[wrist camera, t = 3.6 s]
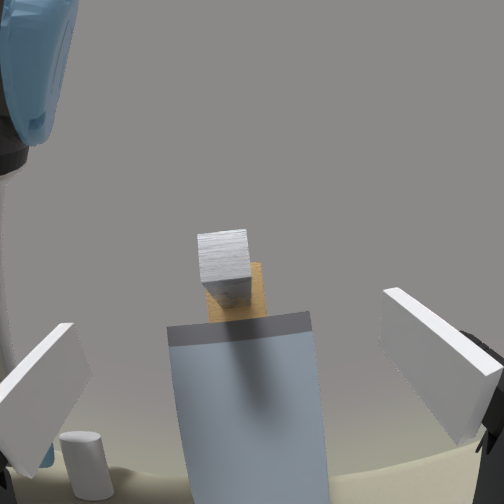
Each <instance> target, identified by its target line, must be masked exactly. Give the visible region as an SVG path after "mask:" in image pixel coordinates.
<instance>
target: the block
mask: <svg viewBox="0 0 504 504" xmlns="http://www.w3.org/2000/svg"><path fill="white" fill-rule="evenodd" d="M198 251H199V264H200V277H201V283H202V284H203V285H204V287H205V288H206V296H207V306H208V316H209V323H216V322H226V321H235V320H244V319H253V318H261V317H267V310H266V303H265V295H264V288H263V279H262V271H261V264H260V262H256V263H250V259H249V251H248V242H247V234H246V229H241V230H232V231H223V232H215V233H206V234H198Z"/></svg>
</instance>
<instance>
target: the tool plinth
mask: <svg viewBox="0 0 504 504" xmlns="http://www.w3.org/2000/svg"><path fill="white" fill-rule="evenodd" d="M167 334H168V345H169V354H170V363H171V371H172V380H173V388H174V396H175V403H176V410H177V416H178V422H179V428H180V434H181V440H182V445H183V451H184V456H185V462H186V467H187V472H188V477H189V482H190V486H191V491H192V495H193V499H194V504H330V499H329V484H328V471H327V458H326V447H325V435H324V425H323V415H322V406H321V397H320V388H319V380H318V372H317V363H316V355H315V348H314V340H313V334H312V326H311V319H310V312H309V311H305V312H299V313H291V314H284V315H277V316H269V317H261V318H253V319H244V320H235V321H226V322H216V323H205V324H196V325H195V324H194V325H183V326H171V327H167Z"/></svg>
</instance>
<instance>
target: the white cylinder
mask: <svg viewBox="0 0 504 504" xmlns="http://www.w3.org/2000/svg"><path fill="white" fill-rule="evenodd" d="M59 440H60V444H61V449H62V453H63V457H64V461H65V465H66V469H67V472H68V476H69V479H70V482H71V486H72V489H73V492H74V494H75V496H76V497H78V498H80V499H83V500H88V501H99V500H104V499H107V498H110V497H111V496H112V495H113V494H114V489H113V485H112V482H111V478H110V474H109V470H108V466H107V462H106V458H105V454H104V449H103V445H102V440H101V435H100V434H98V433H95V432H88V431H72V432H66V433H62V434H60V435H59Z"/></svg>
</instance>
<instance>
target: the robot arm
mask: <svg viewBox="0 0 504 504" xmlns="http://www.w3.org/2000/svg"><path fill="white" fill-rule="evenodd" d="M78 2H79V0H0V504H17V501H16V497H15V493H14V489H13V485H12V480H11V476H10V473H9V471H8V470H7V469H6V467H13V468H14V470H15V471H16V472H17V473H18V474H21V475H24V476H26V477H29V478H32V479H33V478H34V476H35V474H36V472H37V470H38V468H48V467H51V466H52V465H53V463H54V448H53V440H54V439H55V437H56V435H57V434H58V432H59V430H60V428H61V427H62V425H63V423H64V422H65V420H66V418H67V416H68V415H69V413H70V411H71V410H72V408H73V406H74V405H75V403H76V401H77V400H78V398H79V397H80V395H81V393H82V392H83V390H84V388H85V387H86V385H87V384H88V382H89V380H90V379H91V377H92V373H91V370H90V367H89V365H88V362H87V360H86V357H85V354H84V351H83V349H82V346H81V343H80V340H79V337H78V334H77V331H76V328H75V325H74V323H61V324H59V325H58V326H57V327H56V328H55V329H54V330H53V331H52V332H51V333H50V334H49V335H48V336H47V337H46V338H45V339H44V340H43V341H42V342H41V343H40V344H39V345H38V346H37V347H36V348H35V349H34V350H33V351H31V353H30V354H28V356H27V357H26V358H25V359H24V360H23V361H22V362H21V363H20V364H19V365H18V366H17V365H16V360H15V355H14V350H13V345H12V339H11V334H10V327H9V321H8V313H7V305H6V295H5V283H4V267H3V213H4V198H5V187H6V185H7V184H8V183H9V182H10V181H11V180H12V179H13V178H14V177H15V176H16V175H17V174H18V173H20V172H21V171H22V170H23V168H24V167H25V165H26V161H27V155H28V150H29V146H36V145H38V144H42V143H44V142H45V141H46V140H47V139H48V137H49V135H50V133H51V130H52V126H53V122H54V117H55V112H56V106H57V102H58V99H59V95H60V90H61V86H62V81H63V77H64V72H65V67H66V63H67V58H68V53H69V49H70V44H71V40H72V34H73V30H74V26H75V21H76V16H77V10H78ZM378 347H379V348H380V349H381V351H382V352H383V353H384V354H385V356H386V357H387V358H388V359H389V360H390V362H391V363H392V364H393V365H394V366H395V368H396V369H397V370H398V371H399V373H400V374H401V375H402V376H403V378H404V379H405V380H406V381H407V382H408V384H409V385H410V386H411V387H412V389H413V390H414V391H415V392H416V394H417V395H418V396H419V397H420V399H421V400H422V401H423V403H424V404H425V405H426V406H427V408H428V409H429V410H430V411H431V413H432V414H433V415H434V416H435V418H436V419H437V420H438V422H439V423H440V424H441V425H442V427H443V428H444V429H445V431H446V432H447V433H448V435H449V436H450V437H451V438H452V440H453V441H454V443H455V444H456V445H457V446H458V445H460V444H462V443H464V442H466V441H468V440H469V439H471V438H473V437H475V436H476V433H477V432H478V429H479V427H480V425H481V423H482V424H483V425H484V426H485V427H486V428H487V430H486V432H485V433H484V435H483V437H482V439H481V441H480V443H479V445H478V447H477V449H476V453H478V452H479V450H480V448H481V447H482V454H481V461H480V468H479V474H478V479H477V485H476V490H475V494H474V499H473V503H472V504H504V358H503V357H501V356H500V355H499V354H497V353H496V352H495V351H493V350H492V349H489V347H488V346H487V345H486V344H484V343H482V342H481V341H480V340H479V339H477V338H476V337H474V336H473V335H471V334H468V333H466V332H464V331H457V330H456V329H455V328H453V327H452V326H450V325H449V324H448V323H447V322H445V321H444V320H443V319H441V318H440V317H439V316H437V315H436V314H434V313H433V312H432V311H430V310H429V309H428V308H426V307H425V306H423V305H422V304H420V303H419V302H418V301H416V300H415V299H414V298H412V297H411V296H409V295H408V294H407V293H405V292H404V291H402V290H401V289H399V288H398V287H397V288H391V289H386V290H382V306H381V322H380V334H379V345H378Z"/></svg>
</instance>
